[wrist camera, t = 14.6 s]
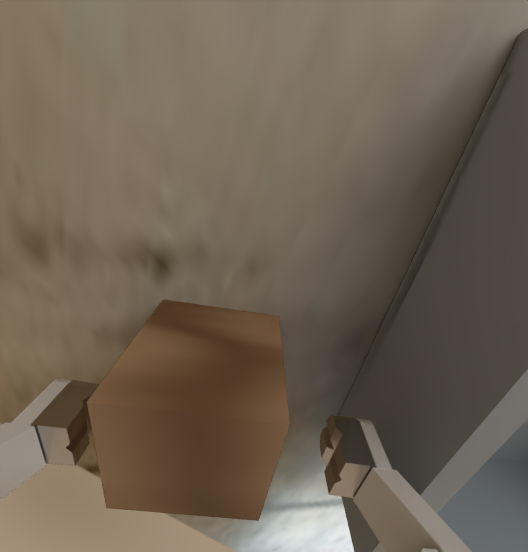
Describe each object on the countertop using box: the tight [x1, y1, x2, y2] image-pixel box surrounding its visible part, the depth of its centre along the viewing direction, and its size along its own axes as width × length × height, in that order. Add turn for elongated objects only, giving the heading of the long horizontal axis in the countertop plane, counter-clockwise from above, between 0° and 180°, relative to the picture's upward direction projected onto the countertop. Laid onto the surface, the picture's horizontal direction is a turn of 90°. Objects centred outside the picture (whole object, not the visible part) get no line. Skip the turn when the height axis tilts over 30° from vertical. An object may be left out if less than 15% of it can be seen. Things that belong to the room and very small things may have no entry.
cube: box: [87, 300, 290, 521], centre depth 9 cm, size 5×5×5 cm
